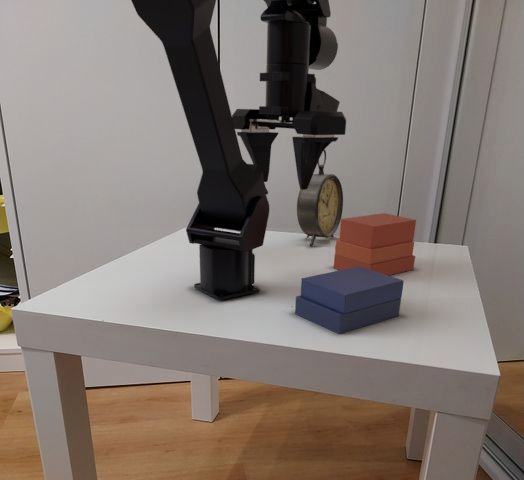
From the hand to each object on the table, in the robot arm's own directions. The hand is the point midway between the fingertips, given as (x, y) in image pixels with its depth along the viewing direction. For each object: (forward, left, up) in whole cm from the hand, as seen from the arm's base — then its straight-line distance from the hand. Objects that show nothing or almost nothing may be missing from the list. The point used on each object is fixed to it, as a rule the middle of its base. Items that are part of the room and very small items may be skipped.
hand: (283, 185), depth 77 cm
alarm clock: (+16, +9, -12) cm, 22 cm away
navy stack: (-7, -22, -12) cm, 26 cm away
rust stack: (+11, -10, -12) cm, 19 cm away
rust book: (+11, -10, -8) cm, 16 cm away
